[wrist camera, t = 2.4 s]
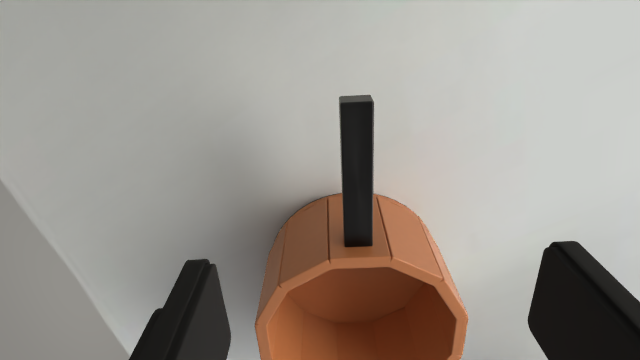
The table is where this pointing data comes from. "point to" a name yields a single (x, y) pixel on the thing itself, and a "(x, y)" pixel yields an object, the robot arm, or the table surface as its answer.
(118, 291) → the table surface
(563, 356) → the robot arm
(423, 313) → the copper saucepan
